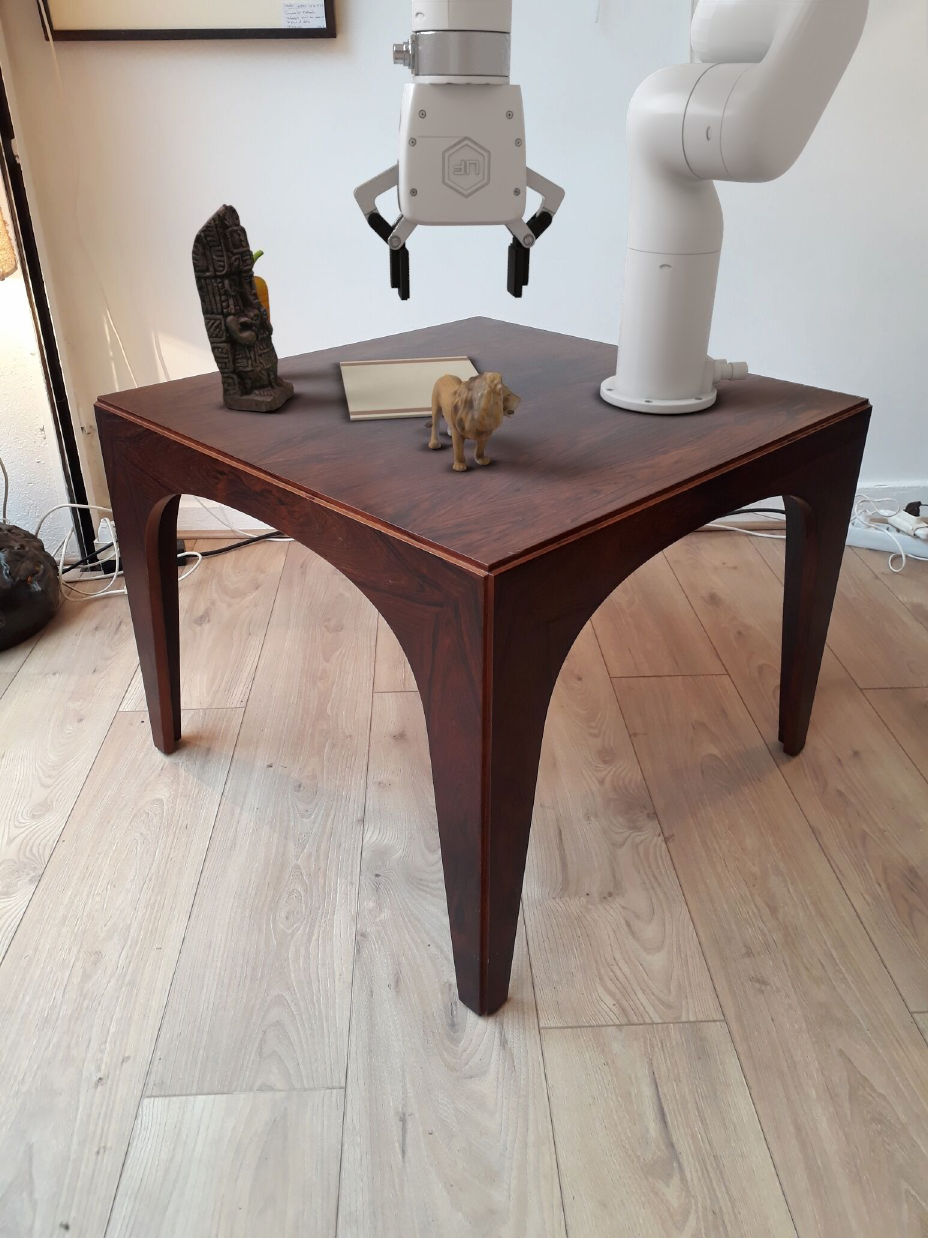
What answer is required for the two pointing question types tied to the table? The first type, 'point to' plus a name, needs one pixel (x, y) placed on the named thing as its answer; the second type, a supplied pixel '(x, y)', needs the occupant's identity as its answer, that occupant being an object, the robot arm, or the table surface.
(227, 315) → the statue
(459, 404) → the lion figurine
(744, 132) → the robot arm
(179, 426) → the table surface
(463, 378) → the napkin
